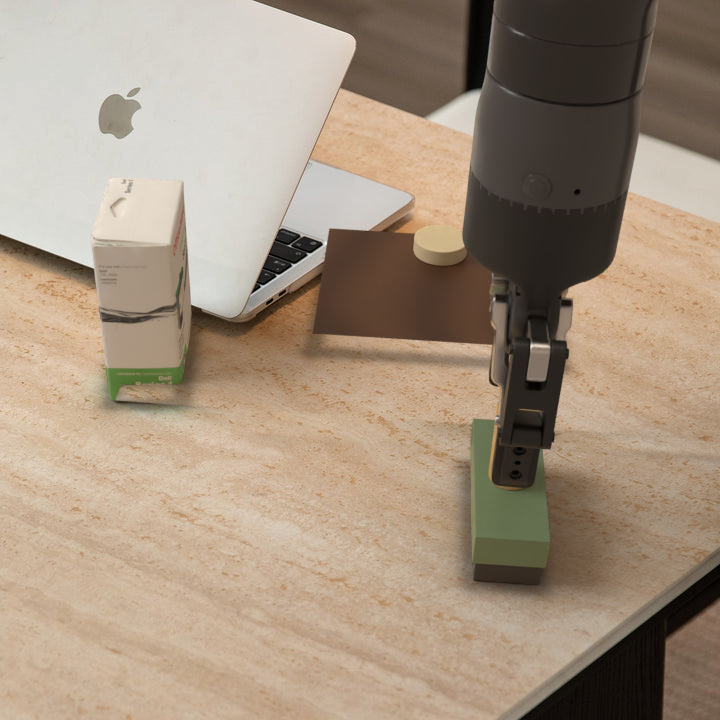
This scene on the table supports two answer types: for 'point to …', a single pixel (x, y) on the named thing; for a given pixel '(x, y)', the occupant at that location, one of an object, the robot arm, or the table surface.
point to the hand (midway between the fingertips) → (509, 430)
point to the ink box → (142, 282)
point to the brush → (505, 517)
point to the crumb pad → (439, 245)
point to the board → (399, 292)
